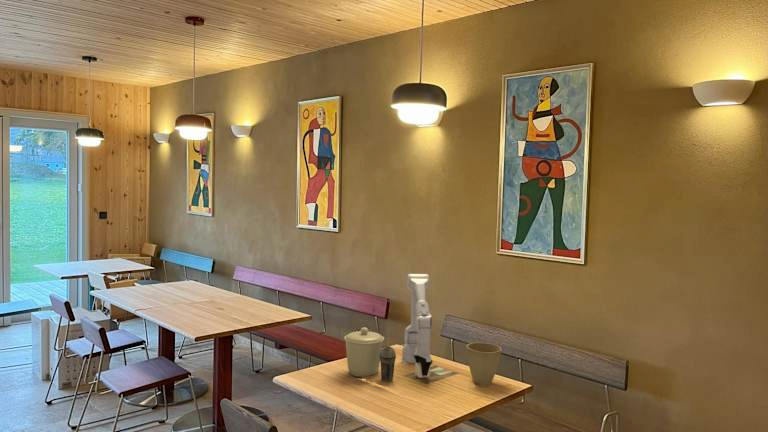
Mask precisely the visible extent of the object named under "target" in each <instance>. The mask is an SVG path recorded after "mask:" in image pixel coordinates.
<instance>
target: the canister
mask: <svg viewBox="0 0 768 432" xmlns="http://www.w3.org/2000/svg"><path fill="white" fill-rule="evenodd" d="M343 339H344V341H345V350H346V351H345V352H346V360H347V361H346V362H347V363H346V364H347V369H348V372H349V374H350V375H352V376H354V377H359V378H361V377H364V376H365V377H368V376H373V375H377V373H379V370H380V369H379V368H380V365H381V362H380V357H379V355H380V352H381V350H382V349H383V342H384V340H385V337H384V336H383V335H381V334H380V333H377V332H374V331H370V330H369V329H368V328H367V327H365V326H364V327H362V328H360V331H352V332H350V333H348V334H346V335H345V336H344V337H343Z"/></svg>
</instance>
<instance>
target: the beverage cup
mask: <svg viewBox="0 0 768 432" xmlns="http://www.w3.org/2000/svg"><path fill="white" fill-rule="evenodd" d="M389 339H390V338H389V336H387V340H386V342H387V343H386V346H384V347H382V350H381V352H380V355H379V357H380V373H381V374H380V376H381V381H382V382H386V383H387V382H388V383H389V382H392V381H393V379H394V370H395V363H396V358H397V353H396V351H395V349H394V348H393V347H391V346H389V344H390V343H389Z"/></svg>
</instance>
